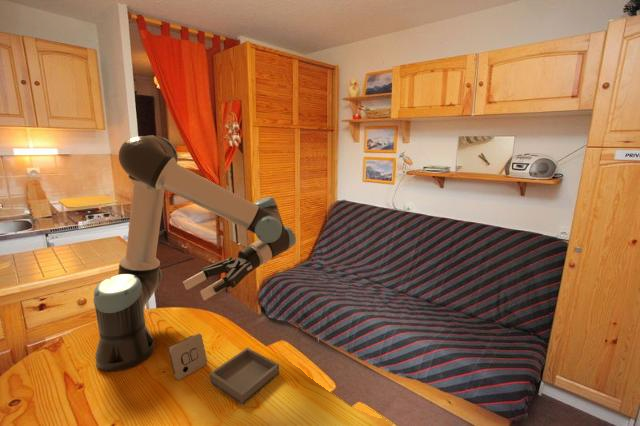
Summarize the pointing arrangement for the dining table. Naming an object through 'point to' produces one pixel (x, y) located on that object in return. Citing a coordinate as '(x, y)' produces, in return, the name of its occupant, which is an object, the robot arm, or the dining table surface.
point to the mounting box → (244, 375)
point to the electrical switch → (187, 356)
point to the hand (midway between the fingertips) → (192, 290)
